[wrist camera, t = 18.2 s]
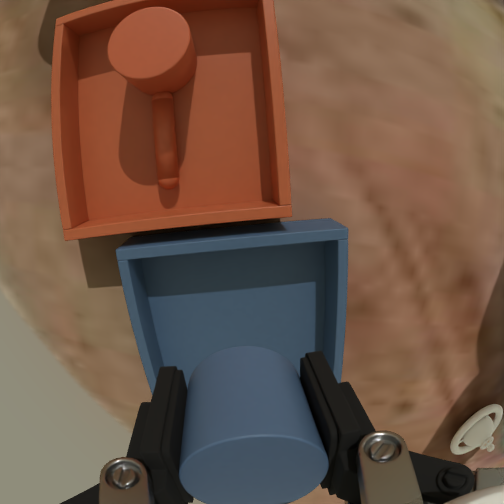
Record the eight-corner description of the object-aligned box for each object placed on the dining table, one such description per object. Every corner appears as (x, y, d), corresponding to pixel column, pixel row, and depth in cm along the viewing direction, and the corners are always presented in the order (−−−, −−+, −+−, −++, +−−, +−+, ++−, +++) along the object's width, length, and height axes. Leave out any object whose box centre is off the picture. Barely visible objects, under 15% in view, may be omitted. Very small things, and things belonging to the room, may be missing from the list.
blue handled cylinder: (178, 350, 10) (160, 440, 6) (299, 338, 10) (336, 422, 6) (218, 494, 12) (220, 558, 9) (297, 486, 13) (312, 548, 9)
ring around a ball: (475, 437, 29) (504, 391, 27) (494, 463, 23) (528, 417, 21) (434, 449, 28) (463, 401, 26) (452, 480, 23) (488, 432, 21)
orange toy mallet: (129, 41, 15) (108, 16, 11) (195, 30, 15) (189, 0, 11) (137, 192, 17) (115, 201, 13) (206, 184, 17) (201, 190, 14)
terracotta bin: (75, 33, 14) (55, 18, 11) (264, 3, 15) (271, -20, 12) (85, 229, 18) (64, 241, 15) (282, 208, 19) (292, 216, 16)
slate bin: (130, 236, 18) (114, 250, 16) (330, 217, 19) (348, 228, 16) (169, 404, 22) (164, 431, 19) (326, 388, 23) (337, 413, 20)
